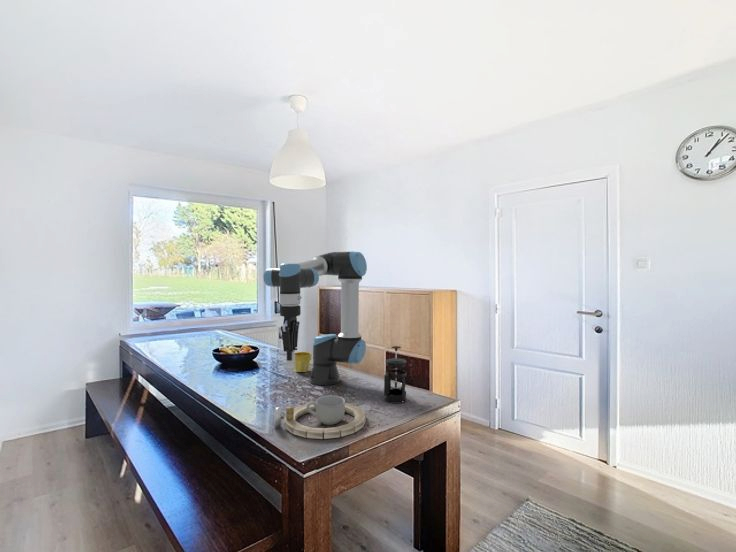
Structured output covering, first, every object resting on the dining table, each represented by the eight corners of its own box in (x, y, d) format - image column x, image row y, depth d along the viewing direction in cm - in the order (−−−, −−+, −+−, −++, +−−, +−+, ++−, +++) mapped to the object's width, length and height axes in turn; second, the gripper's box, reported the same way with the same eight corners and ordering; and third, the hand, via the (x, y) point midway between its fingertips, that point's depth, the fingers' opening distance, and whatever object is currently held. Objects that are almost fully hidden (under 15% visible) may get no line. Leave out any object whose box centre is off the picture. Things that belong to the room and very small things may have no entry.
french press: (396, 394, 169) (396, 343, 169) (412, 399, 162) (412, 346, 162) (377, 400, 161) (378, 346, 161) (393, 406, 154) (394, 350, 154)
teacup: (347, 416, 142) (347, 395, 142) (342, 428, 132) (342, 405, 132) (311, 415, 144) (311, 394, 144) (303, 426, 133) (303, 404, 133)
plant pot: (305, 367, 214) (305, 350, 214) (314, 371, 206) (314, 353, 206) (288, 370, 207) (288, 353, 207) (298, 374, 199) (298, 356, 199)
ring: (283, 410, 148) (283, 395, 147) (354, 404, 155) (355, 389, 155) (287, 443, 120) (287, 424, 119) (374, 433, 127) (374, 415, 127)
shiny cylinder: (276, 425, 133) (276, 406, 133) (284, 426, 133) (284, 407, 133) (273, 428, 131) (273, 408, 131) (281, 429, 130) (281, 409, 130)
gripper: (293, 307, 132) (293, 373, 132) (305, 303, 144) (306, 364, 145) (273, 306, 133) (273, 372, 134) (287, 303, 146) (288, 363, 146)
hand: (290, 368), depth 139 cm, fingers closed
